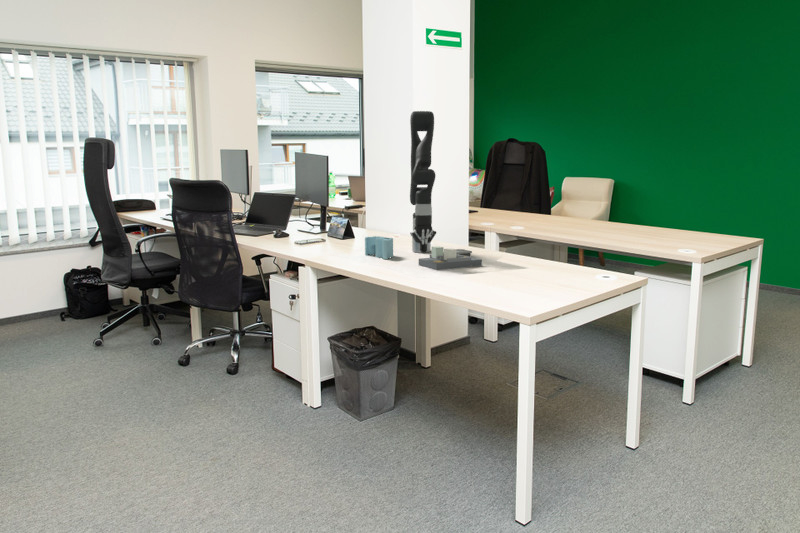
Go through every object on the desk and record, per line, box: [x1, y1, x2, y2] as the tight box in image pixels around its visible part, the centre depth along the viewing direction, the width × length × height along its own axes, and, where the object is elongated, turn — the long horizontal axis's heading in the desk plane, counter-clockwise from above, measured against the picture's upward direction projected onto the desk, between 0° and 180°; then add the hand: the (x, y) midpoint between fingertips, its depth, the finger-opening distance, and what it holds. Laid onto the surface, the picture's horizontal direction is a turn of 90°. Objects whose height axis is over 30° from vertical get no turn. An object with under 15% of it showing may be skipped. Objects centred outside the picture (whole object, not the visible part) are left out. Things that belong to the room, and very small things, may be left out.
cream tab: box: [444, 247, 457, 261], centre depth 282 cm, size 4×4×5 cm
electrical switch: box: [456, 248, 473, 257], centre depth 310 cm, size 9×5×9 cm
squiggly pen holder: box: [364, 235, 394, 260], centre depth 318 cm, size 18×10×9 cm, turn 47°
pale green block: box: [431, 245, 445, 259], centre depth 290 cm, size 4×4×5 cm
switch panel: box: [418, 253, 483, 271], centre depth 288 cm, size 16×24×4 cm, turn 118°
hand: (423, 252), depth 286 cm, fingers closed
